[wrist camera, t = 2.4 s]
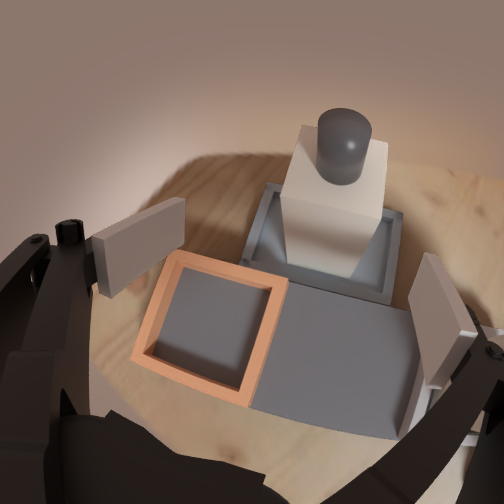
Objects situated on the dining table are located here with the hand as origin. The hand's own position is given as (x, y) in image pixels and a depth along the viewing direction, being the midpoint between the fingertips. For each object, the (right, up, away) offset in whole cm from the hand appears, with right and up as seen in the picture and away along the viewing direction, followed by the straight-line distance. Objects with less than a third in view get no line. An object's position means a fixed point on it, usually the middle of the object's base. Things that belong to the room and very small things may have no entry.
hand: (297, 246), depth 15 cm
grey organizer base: (+4, -9, +5) cm, 11 cm away
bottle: (+4, 0, +9) cm, 9 cm away
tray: (+4, 0, +9) cm, 10 cm away
